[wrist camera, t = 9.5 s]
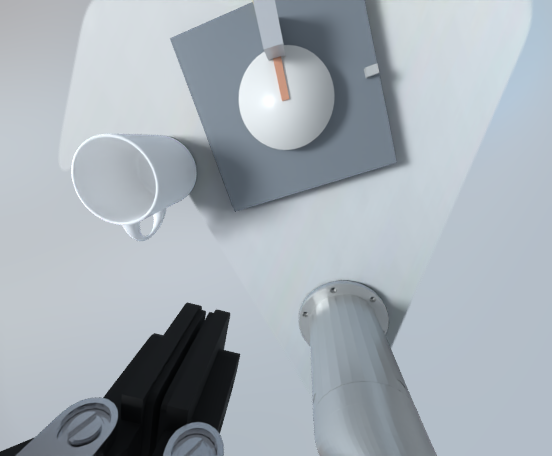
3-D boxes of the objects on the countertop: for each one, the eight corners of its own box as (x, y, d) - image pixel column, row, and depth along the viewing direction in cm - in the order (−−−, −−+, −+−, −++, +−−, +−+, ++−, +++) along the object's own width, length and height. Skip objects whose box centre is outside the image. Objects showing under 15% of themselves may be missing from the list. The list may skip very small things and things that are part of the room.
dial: (340, 137, 31) (347, 137, 26) (254, 158, 33) (245, 161, 28) (318, 3, 28) (321, -27, 23) (223, 33, 29) (206, 11, 24)
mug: (137, 221, 39) (79, 250, 29) (133, 131, 35) (65, 128, 25) (197, 229, 39) (160, 262, 28) (199, 139, 35) (157, 139, 25)
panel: (391, 161, 34) (399, 163, 31) (238, 208, 37) (233, 213, 34) (352, -32, 28) (357, -49, 26) (177, 44, 32) (166, 35, 29)
